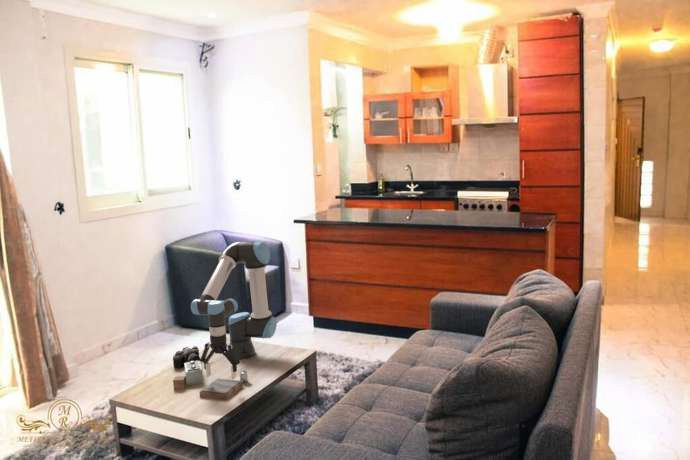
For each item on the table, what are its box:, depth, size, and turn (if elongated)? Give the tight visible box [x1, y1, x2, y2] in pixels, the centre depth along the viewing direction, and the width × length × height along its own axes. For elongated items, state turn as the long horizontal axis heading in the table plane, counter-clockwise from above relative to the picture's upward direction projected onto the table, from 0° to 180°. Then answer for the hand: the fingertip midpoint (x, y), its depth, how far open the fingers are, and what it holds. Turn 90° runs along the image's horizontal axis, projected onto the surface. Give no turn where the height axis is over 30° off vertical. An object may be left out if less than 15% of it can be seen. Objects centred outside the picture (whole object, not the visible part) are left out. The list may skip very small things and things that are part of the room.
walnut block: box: [172, 375, 188, 391], centre depth 280 cm, size 5×5×5 cm
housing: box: [184, 361, 204, 386], centre depth 290 cm, size 8×14×8 cm, turn 19°
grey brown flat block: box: [199, 378, 244, 401], centre depth 273 cm, size 16×14×3 cm
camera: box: [172, 345, 201, 370], centre depth 309 cm, size 16×10×10 cm, turn 141°
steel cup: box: [239, 370, 249, 384], centre depth 284 cm, size 4×4×5 cm
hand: (221, 377), depth 273 cm, fingers open, 13 cm apart
